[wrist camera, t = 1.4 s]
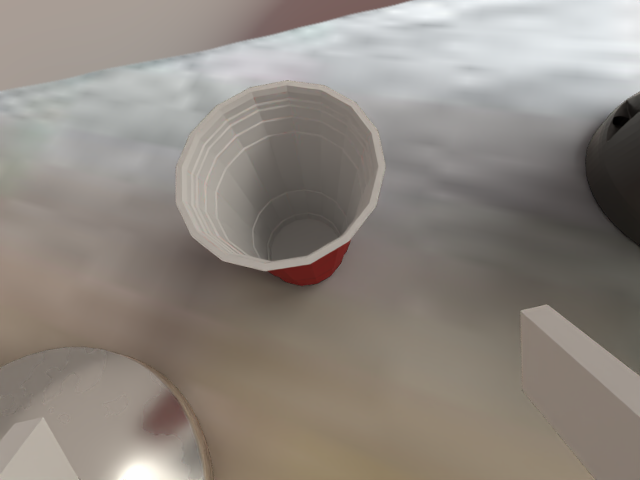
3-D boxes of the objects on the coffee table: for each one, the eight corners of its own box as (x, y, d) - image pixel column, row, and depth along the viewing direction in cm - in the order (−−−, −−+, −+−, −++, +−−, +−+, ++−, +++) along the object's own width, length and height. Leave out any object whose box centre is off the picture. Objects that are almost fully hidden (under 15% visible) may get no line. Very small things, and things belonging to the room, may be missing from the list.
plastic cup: (208, 285, 30) (124, 210, 19) (277, 174, 34) (239, 58, 23) (337, 349, 27) (323, 305, 16) (397, 222, 31) (420, 115, 20)
